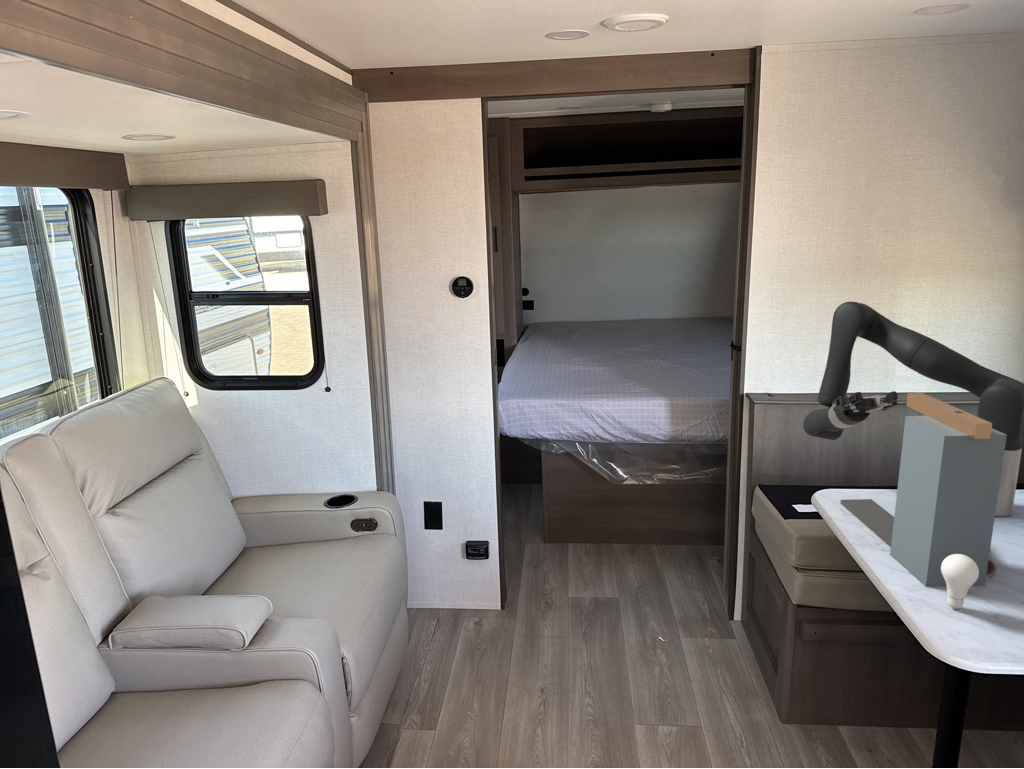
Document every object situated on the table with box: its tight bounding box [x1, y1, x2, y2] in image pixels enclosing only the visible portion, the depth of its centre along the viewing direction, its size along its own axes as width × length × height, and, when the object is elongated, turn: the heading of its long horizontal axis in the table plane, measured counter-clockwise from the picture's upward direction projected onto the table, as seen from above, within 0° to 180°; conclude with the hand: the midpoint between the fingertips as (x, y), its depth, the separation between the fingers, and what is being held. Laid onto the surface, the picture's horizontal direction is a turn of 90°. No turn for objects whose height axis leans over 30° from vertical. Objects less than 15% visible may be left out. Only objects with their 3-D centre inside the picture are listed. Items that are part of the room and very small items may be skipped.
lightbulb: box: [941, 554, 979, 610], centre depth 137 cm, size 6×6×11 cm
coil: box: [986, 553, 999, 579], centre depth 157 cm, size 5×5×18 cm
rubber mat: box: [840, 498, 894, 548], centre depth 175 cm, size 26×8×1 cm, turn 0°
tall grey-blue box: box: [889, 415, 1007, 588], centre depth 149 cm, size 14×12×32 cm
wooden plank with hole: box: [906, 392, 992, 439], centre depth 148 cm, size 24×3×3 cm, turn 0°
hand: (877, 395), depth 175 cm, fingers open, 8 cm apart
